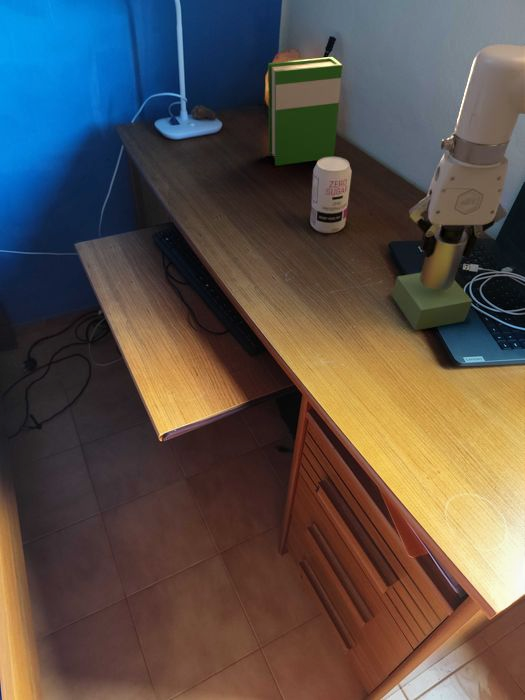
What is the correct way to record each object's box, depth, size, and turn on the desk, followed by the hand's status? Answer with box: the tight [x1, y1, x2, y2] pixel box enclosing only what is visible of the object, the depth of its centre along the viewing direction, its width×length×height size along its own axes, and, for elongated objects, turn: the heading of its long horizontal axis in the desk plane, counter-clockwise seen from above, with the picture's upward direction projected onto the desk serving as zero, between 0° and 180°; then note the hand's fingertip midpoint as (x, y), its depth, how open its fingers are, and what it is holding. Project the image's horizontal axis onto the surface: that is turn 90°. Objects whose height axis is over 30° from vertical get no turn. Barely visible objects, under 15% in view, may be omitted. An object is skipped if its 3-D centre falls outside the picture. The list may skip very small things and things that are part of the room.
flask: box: [420, 225, 469, 290], centre depth 80 cm, size 6×6×11 cm
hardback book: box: [267, 56, 343, 167], centre depth 128 cm, size 18×7×24 cm, turn 105°
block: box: [392, 272, 473, 331], centre depth 87 cm, size 10×10×5 cm
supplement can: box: [309, 156, 353, 234], centre depth 105 cm, size 8×8×15 cm
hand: (445, 251), depth 80 cm, fingers closed on flask, 5 cm apart
